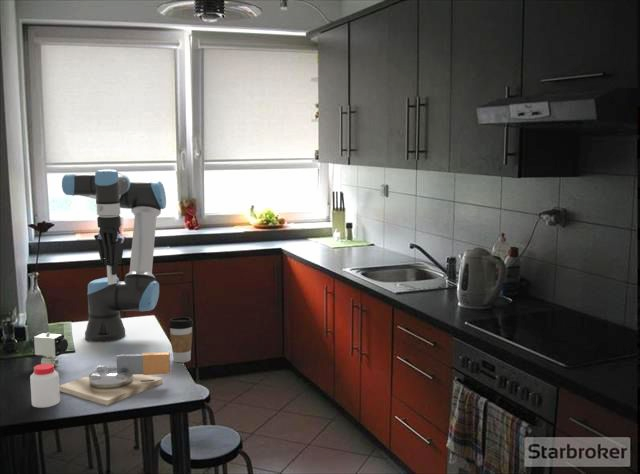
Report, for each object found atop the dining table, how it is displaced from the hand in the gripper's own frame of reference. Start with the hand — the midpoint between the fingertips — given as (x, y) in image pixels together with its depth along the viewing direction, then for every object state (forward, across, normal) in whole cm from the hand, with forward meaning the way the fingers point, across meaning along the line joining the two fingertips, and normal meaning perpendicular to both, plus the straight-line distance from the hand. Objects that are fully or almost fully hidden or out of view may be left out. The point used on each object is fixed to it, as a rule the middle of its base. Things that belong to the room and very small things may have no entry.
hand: (112, 283), depth 228 cm
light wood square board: (+27, +19, -19) cm, 38 cm away
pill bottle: (+27, +12, -38) cm, 48 cm away
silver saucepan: (+25, +23, -16) cm, 38 cm away
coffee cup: (+28, +20, +12) cm, 36 cm away
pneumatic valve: (+28, -14, -16) cm, 35 cm away
